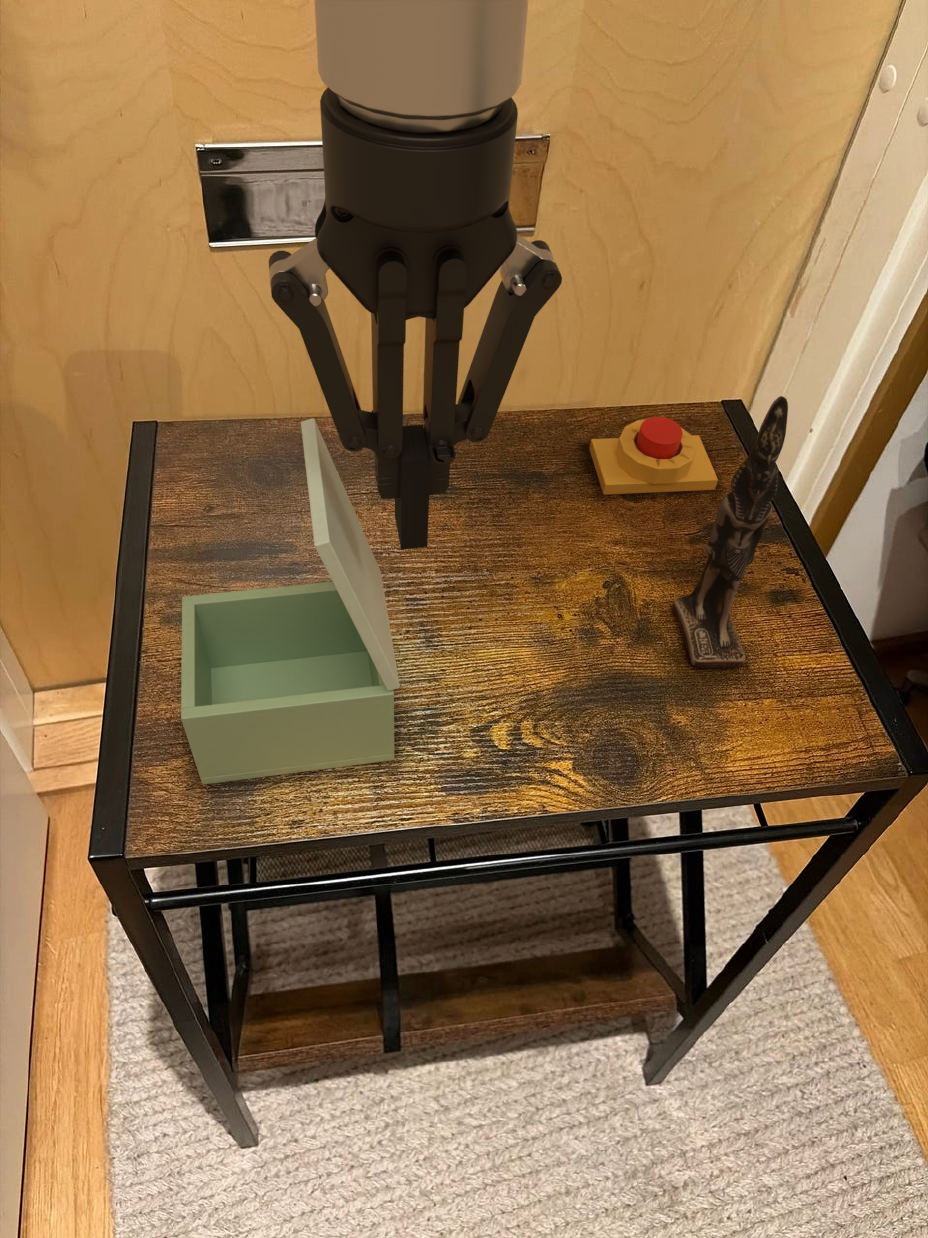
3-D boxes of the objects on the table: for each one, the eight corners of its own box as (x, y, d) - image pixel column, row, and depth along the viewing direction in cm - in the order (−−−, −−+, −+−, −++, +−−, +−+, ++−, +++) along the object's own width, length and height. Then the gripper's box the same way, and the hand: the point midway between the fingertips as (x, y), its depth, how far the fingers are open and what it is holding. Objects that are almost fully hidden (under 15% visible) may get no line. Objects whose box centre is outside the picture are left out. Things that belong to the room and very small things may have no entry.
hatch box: (202, 785, 61) (180, 719, 55) (201, 667, 67) (181, 596, 61) (394, 760, 63) (394, 693, 57) (377, 648, 69) (375, 577, 63)
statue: (689, 675, 69) (773, 468, 54) (665, 602, 74) (736, 391, 58) (744, 672, 70) (842, 466, 54) (717, 599, 74) (801, 390, 59)
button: (672, 431, 83) (676, 415, 81) (682, 458, 80) (687, 443, 79) (632, 433, 82) (636, 417, 81) (642, 460, 80) (646, 444, 79)
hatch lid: (313, 545, 46) (329, 541, 46) (300, 421, 52) (313, 417, 52) (387, 691, 57) (400, 687, 57) (369, 574, 63) (380, 571, 63)
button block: (695, 443, 86) (703, 416, 84) (715, 492, 82) (724, 465, 80) (588, 447, 85) (593, 420, 83) (603, 497, 81) (609, 470, 78)
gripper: (563, 48, 39) (508, 477, 57) (240, 49, 37) (290, 494, 55) (613, 130, 34) (536, 569, 52) (246, 137, 32) (299, 591, 50)
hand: (410, 530), depth 54 cm, fingers closed
